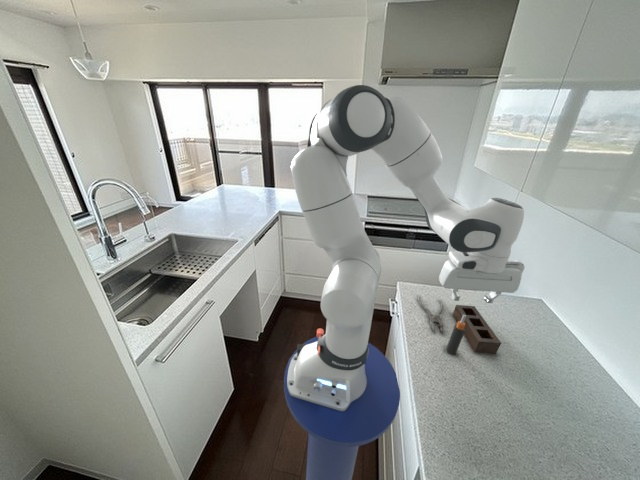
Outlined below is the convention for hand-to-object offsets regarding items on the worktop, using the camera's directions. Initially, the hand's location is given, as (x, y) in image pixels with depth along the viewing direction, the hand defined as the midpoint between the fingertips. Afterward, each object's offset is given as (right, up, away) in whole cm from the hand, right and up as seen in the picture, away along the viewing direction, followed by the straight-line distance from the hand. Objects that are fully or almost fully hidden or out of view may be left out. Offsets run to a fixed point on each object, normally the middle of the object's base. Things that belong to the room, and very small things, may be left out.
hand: (471, 300), depth 74 cm
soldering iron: (-1, -19, +10) cm, 21 cm away
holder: (+11, -16, +17) cm, 26 cm away
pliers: (+1, -11, +25) cm, 28 cm away
